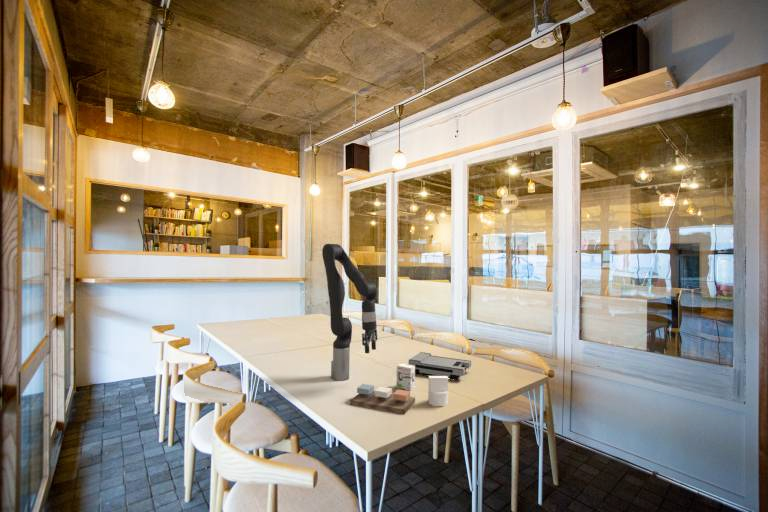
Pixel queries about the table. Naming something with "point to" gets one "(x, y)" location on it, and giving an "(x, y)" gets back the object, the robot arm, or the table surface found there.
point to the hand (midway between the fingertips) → (370, 351)
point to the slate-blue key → (365, 389)
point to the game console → (439, 365)
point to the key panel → (383, 403)
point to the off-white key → (383, 392)
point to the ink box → (405, 377)
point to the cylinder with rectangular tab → (438, 390)
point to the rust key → (401, 395)
